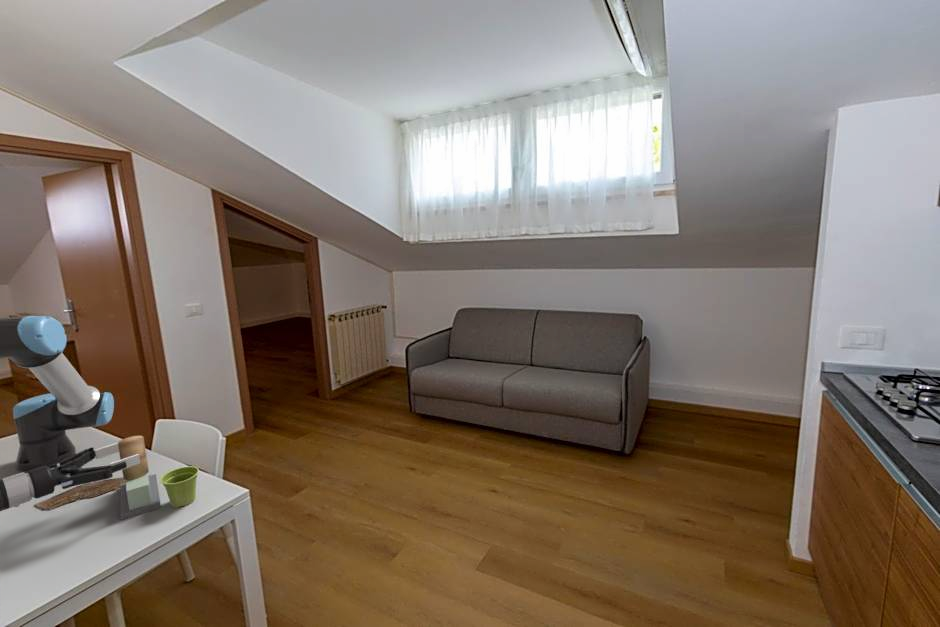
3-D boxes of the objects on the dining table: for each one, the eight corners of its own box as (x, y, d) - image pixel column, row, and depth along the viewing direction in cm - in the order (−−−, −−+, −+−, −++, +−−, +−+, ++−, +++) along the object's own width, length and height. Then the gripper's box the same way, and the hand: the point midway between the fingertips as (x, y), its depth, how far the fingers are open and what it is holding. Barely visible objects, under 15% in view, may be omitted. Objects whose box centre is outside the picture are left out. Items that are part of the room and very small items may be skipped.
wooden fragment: (30, 516, 121) (29, 513, 121) (37, 498, 130) (36, 495, 130) (143, 484, 137) (143, 481, 137) (143, 470, 145) (142, 467, 145)
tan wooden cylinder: (122, 474, 128) (117, 440, 126) (147, 467, 132) (142, 433, 130) (124, 482, 124) (118, 447, 122) (149, 474, 128) (144, 440, 126)
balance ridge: (121, 488, 134) (117, 466, 133) (156, 478, 140) (153, 456, 138) (121, 519, 119) (117, 495, 118) (160, 507, 124) (157, 483, 123)
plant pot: (209, 495, 130) (206, 469, 128) (179, 514, 121) (175, 486, 120) (187, 489, 133) (183, 464, 131) (156, 507, 124) (152, 480, 123)
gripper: (22, 483, 117) (118, 452, 134) (44, 516, 103) (148, 476, 120) (17, 458, 116) (114, 429, 133) (38, 488, 101) (144, 451, 118)
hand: (131, 451), depth 126 cm, fingers open, 13 cm apart
